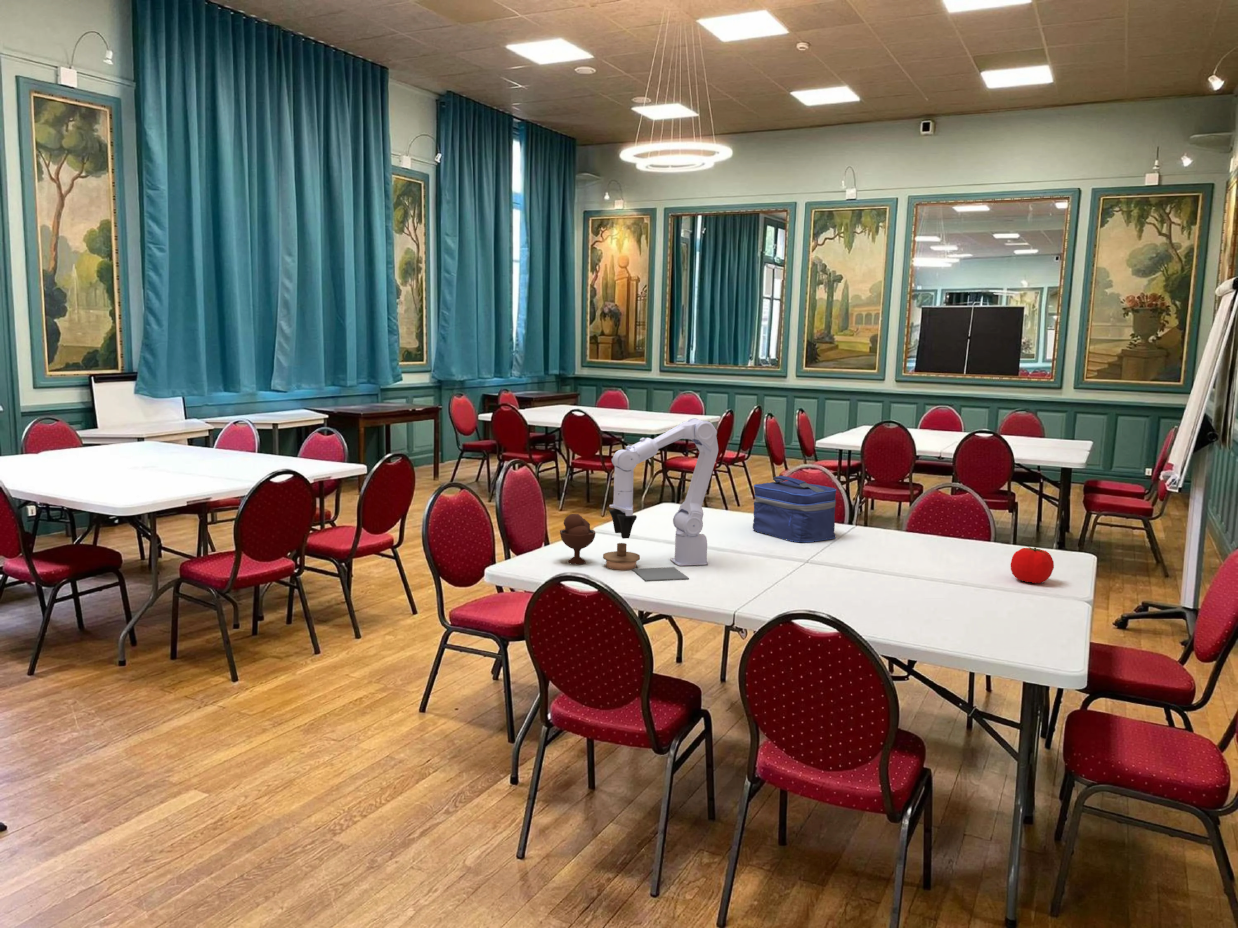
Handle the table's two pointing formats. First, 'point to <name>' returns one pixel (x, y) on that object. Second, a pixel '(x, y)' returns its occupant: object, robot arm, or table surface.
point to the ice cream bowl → (577, 536)
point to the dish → (621, 565)
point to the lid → (621, 555)
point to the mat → (660, 574)
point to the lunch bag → (794, 510)
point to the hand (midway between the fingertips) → (621, 535)
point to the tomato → (1032, 565)
